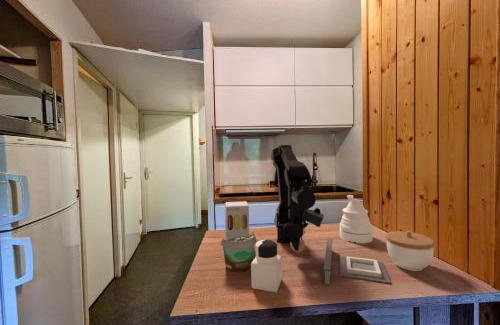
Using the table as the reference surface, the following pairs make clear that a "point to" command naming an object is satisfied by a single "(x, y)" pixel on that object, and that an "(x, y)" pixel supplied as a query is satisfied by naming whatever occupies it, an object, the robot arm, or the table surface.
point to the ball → (301, 246)
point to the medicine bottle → (266, 267)
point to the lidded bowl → (410, 249)
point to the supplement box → (236, 219)
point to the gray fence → (328, 261)
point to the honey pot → (355, 223)
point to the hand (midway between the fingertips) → (297, 247)
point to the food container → (239, 252)
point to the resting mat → (363, 269)
